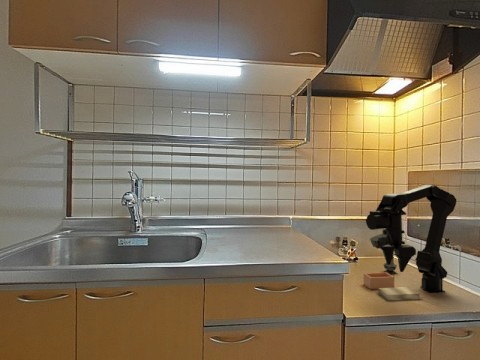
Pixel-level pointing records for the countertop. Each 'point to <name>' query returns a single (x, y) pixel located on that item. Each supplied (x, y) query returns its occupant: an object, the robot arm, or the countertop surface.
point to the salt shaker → (390, 267)
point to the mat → (396, 300)
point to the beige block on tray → (399, 293)
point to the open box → (378, 280)
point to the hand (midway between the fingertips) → (394, 268)
